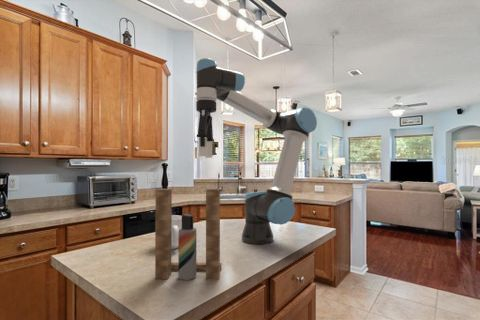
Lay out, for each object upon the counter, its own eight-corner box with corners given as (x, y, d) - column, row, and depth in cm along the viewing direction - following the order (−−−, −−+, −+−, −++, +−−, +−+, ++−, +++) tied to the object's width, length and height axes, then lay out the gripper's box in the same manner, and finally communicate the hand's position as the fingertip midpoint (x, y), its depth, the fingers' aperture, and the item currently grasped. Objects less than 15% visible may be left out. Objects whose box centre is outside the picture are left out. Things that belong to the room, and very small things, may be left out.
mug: (190, 250, 112) (190, 219, 112) (164, 255, 106) (164, 222, 106) (177, 242, 125) (178, 214, 125) (154, 246, 118) (154, 216, 119)
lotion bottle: (179, 273, 88) (179, 212, 89) (197, 272, 89) (197, 212, 89) (177, 280, 83) (177, 215, 83) (195, 280, 83) (195, 215, 84)
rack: (221, 268, 92) (221, 187, 93) (218, 279, 83) (218, 189, 84) (164, 268, 93) (164, 187, 94) (155, 279, 84) (155, 189, 85)
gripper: (202, 108, 114) (202, 158, 113) (189, 91, 89) (188, 155, 88) (219, 108, 114) (219, 158, 113) (211, 91, 89) (211, 155, 88)
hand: (206, 157), depth 101 cm, fingers open, 13 cm apart
